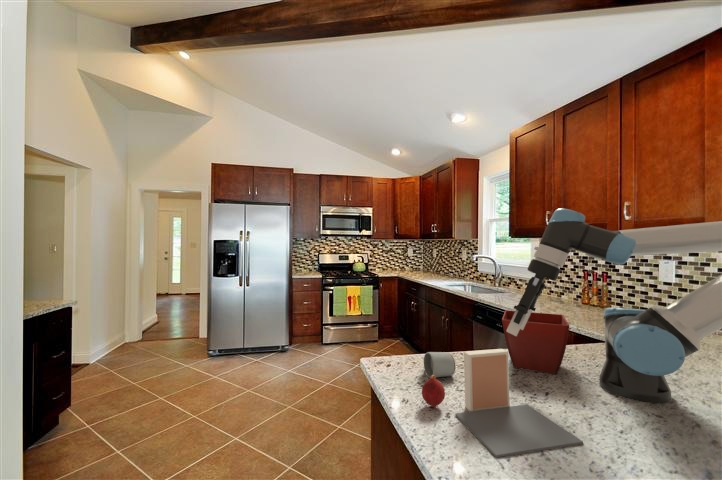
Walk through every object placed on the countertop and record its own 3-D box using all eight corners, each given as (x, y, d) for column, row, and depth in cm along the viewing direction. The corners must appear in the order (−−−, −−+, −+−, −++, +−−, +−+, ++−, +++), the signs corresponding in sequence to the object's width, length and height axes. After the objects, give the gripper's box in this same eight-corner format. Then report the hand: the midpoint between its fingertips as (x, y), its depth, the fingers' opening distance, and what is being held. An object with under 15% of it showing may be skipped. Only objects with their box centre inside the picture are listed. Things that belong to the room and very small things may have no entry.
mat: (455, 415, 76) (455, 413, 76) (527, 406, 80) (527, 404, 80) (496, 457, 60) (495, 455, 60) (583, 443, 64) (583, 441, 64)
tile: (503, 402, 82) (501, 348, 82) (510, 407, 79) (508, 351, 80) (465, 407, 80) (463, 351, 80) (471, 412, 77) (469, 355, 78)
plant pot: (565, 361, 112) (563, 313, 112) (571, 381, 95) (569, 325, 95) (506, 353, 121) (505, 309, 121) (503, 370, 104) (501, 319, 104)
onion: (440, 415, 76) (440, 381, 76) (418, 409, 79) (418, 377, 79) (447, 405, 81) (447, 373, 81) (426, 399, 84) (426, 369, 84)
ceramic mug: (457, 379, 97) (456, 354, 98) (433, 382, 95) (433, 356, 96) (440, 367, 108) (440, 345, 108) (419, 370, 106) (418, 347, 106)
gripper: (536, 260, 99) (508, 319, 102) (527, 254, 79) (493, 329, 81) (562, 270, 95) (533, 331, 98) (560, 266, 75) (523, 344, 77)
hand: (514, 330), depth 90 cm, fingers open, 13 cm apart
